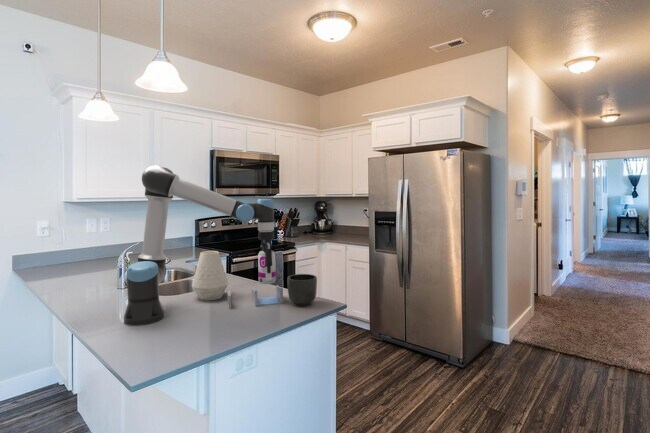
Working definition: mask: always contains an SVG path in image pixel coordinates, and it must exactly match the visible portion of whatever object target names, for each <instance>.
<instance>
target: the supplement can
mask: <svg viewBox="0 0 650 433" xmlns="http://www.w3.org/2000/svg"><path fill="white" fill-rule="evenodd" d="M271 251H272V266H271V270H272V280H266V269H265V266H264V265H266V256H265V253H264V251H262V250H260V251H259V252H258V254H257V259H258V260H257V262H258V263H257V266H258V268H257V269H258V282H259V283H260V284H262V285H271V284H274V283H275V282H276V280H277V272H276V270H277V267H276V265H277V264H276V263H277V262H276V261H277V260H276V253H275V251H274V250H271Z"/></svg>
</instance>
